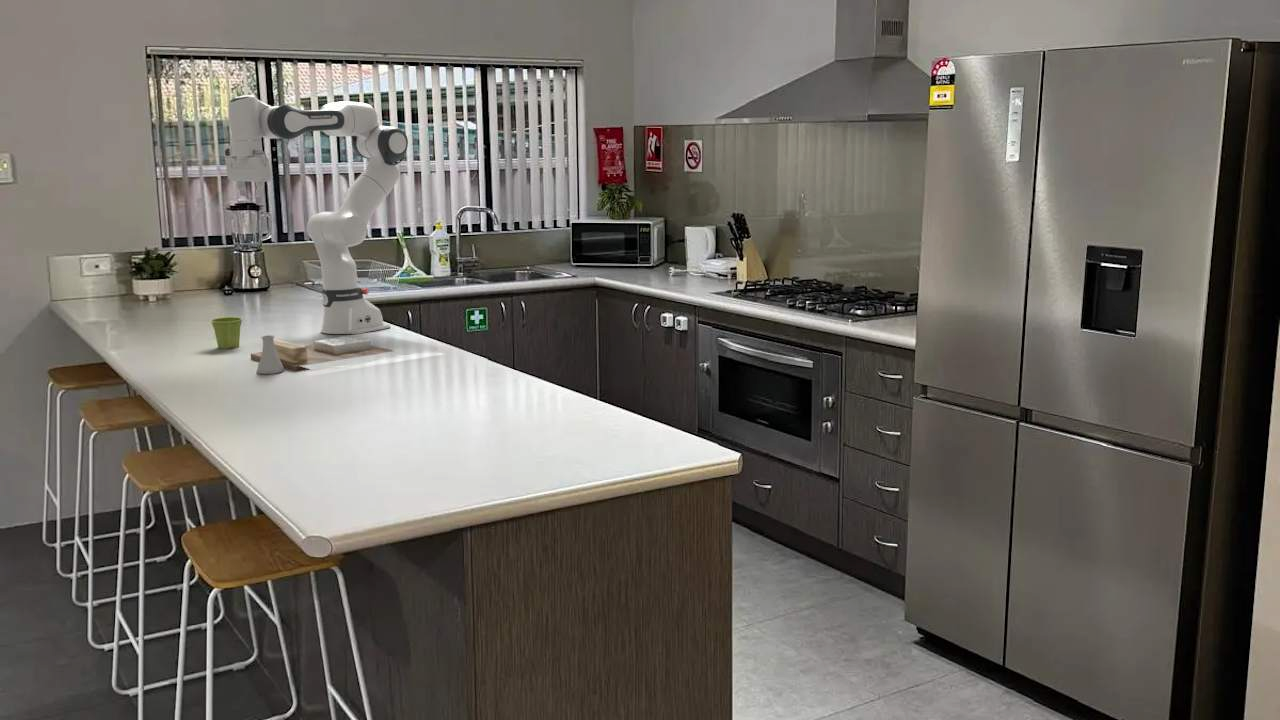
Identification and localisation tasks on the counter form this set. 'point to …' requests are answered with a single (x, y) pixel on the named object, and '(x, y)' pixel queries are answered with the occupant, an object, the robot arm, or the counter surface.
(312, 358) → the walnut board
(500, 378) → the counter surface
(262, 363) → the flask
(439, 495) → the counter surface
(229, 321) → the plant pot
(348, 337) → the aluminium plate
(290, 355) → the bar
